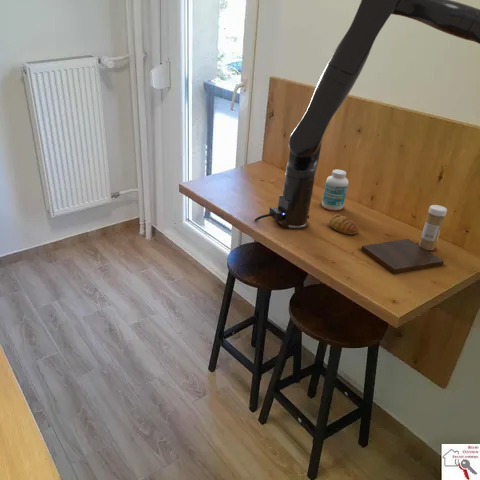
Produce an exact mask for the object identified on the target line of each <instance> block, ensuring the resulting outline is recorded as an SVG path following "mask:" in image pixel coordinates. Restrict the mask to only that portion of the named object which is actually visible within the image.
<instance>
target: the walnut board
mask: <svg viewBox="0 0 480 480" xmlns="http://www.w3.org/2000/svg"><path fill="white" fill-rule="evenodd" d="M360 250H361V251H362V252H363V253H365V254H366V255H367V256H369V257H370V258H371V259H373V260H374V261H375V262H377V263H378V264H380V265H381V266H382V267H384V268H385V269H386V270H388V272H390V273H392V274H393V275H395V274H400V273H407V272H412V271H417V270H418V271H419V270H423V269H429V268H435V267H441V266H444V262H445V260H443V259H442V258H440V257H438V256H437V255H435V254H434V253H432V252H431V251H430V250H426V249H424V248H422V247H421V246H419V243H416V242H414V241H413V240H411V239H410V238H403V239H398V240H391V241H385V242H384V241H383V242H377V243H372V244H371V243H370V244H366V245H365V244H364V245H361V249H360Z"/></svg>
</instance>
